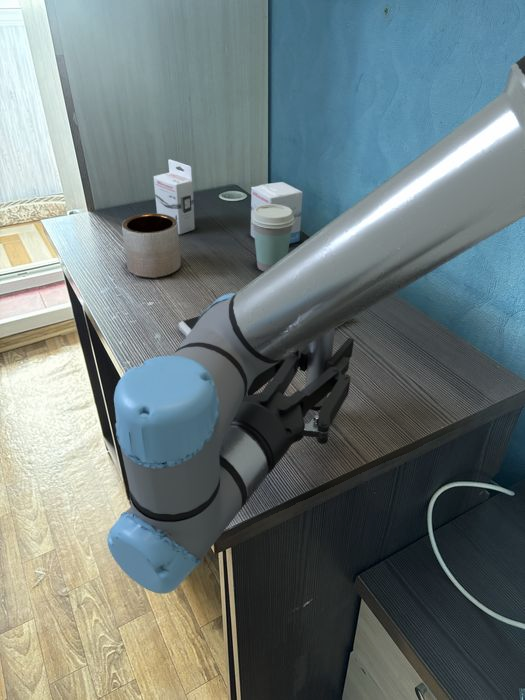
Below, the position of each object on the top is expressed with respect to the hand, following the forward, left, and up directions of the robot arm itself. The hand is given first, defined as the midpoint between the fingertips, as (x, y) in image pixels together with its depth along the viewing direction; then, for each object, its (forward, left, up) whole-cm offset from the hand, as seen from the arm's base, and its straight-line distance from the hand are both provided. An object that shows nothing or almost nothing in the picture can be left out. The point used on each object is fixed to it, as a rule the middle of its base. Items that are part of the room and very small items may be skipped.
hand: (337, 342), depth 69 cm
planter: (+49, -12, -9) cm, 52 cm away
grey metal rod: (-1, +5, -7) cm, 9 cm away
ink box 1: (+61, -30, -9) cm, 69 cm away
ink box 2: (+39, -40, -9) cm, 57 cm away
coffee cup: (+31, -28, -9) cm, 43 cm away
